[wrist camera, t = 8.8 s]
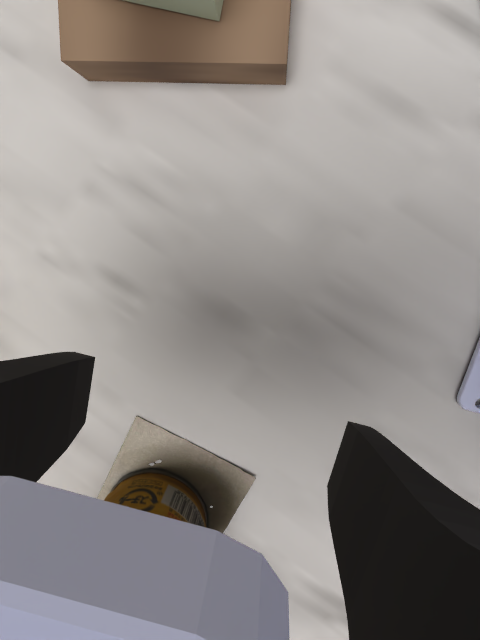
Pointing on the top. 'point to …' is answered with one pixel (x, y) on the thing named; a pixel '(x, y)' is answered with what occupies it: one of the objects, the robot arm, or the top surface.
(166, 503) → the condiment
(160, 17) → the walnut block
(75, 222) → the top surface
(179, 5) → the sage cube
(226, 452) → the top surface
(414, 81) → the top surface
